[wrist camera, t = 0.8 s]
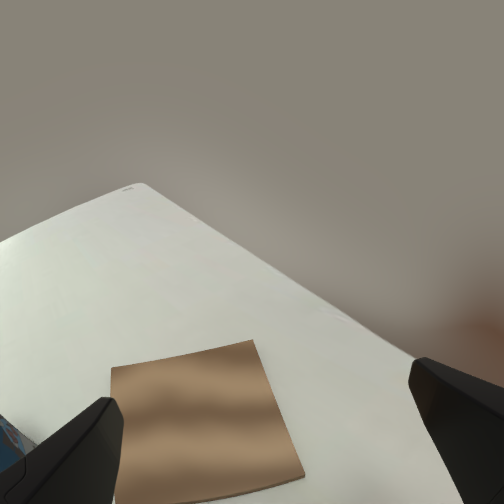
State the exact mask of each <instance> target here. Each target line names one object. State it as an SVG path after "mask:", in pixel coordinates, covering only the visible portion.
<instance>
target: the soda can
mask: <svg viewBox="0 0 504 504" xmlns="http://www.w3.org/2000/svg"><path fill="white" fill-rule="evenodd" d="M35 447H37V445H36V444H35V443H33V442H32V441H31V440H30V439H28V438H27V437H26V436H25V435H23V434H22V433H21V432H20V431H19V430H17V429H16V428H15V427H14V426H13V425H12V424H10V423H9V422H8V421H7V420H6V419H5V418H4V417H3V416H2V415H0V472H2V471H4V470H5V469H7V468H8V467H10V466H11V465H12V464H14V463H15V462H17V461H18V460H19V459H21V458H22V457H23V456H26V454H27V453H29V452H30V451H31V450H33V449H34V448H35Z"/></svg>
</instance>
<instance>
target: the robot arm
mask: <svg viewBox="0 0 504 504" xmlns="http://www.w3.org/2000/svg"><path fill="white" fill-rule="evenodd" d="M408 384H409V388H410V391H411V393H412V395H413V398H414V400H415V403H416V405H417V408H418V410H419V413H420V415H421V418H422V420H423V423H424V425H425V427H426V429H427V431H428V433H429V434H430V436H431V438H432V440H433V442H434V444H435V446H436V448H437V450H438V452H439V454H440V456H441V458H442V459H443V461H444V463H445V465H446V467H447V469H448V471H449V473H450V476H451V478H452V480H453V482H454V484H455V486H456V488H457V490H458V492H459V494H460V496H461V498H462V501H463V503H464V504H504V388H502V387H500V386H497V385H495V384H492V383H490V382H487V381H484V380H482V379H479V378H476V377H474V376H472V375H469V374H466V373H464V372H461V371H459V370H456V369H454V368H451V367H449V366H446V365H444V364H441V363H439V362H436V361H434V360H431V359H429V358H426V357H423V358H419V359H416V360H414V361H413V363H412V366H411V371H410V375H409V380H408ZM123 428H124V418H123V415H122V413H121V411H120V409H119V406H118V404H117V402H116V400H115V399H114V398H112V397H101V398H99V399H98V400H97V401H95V402H94V403H93V404H91V405H90V406H89V407H88V408H86V409H85V410H84V411H82V412H81V413H80V414H79V415H77V416H76V417H75V418H73V419H72V420H71V421H69V422H68V423H67V424H66V425H64V426H63V427H62V428H60V429H59V430H58V431H56V432H55V433H54V434H53V435H51V436H50V437H49V438H47V439H46V440H45V441H43V442H42V443H41V444H39V445H38V446H37V447H35V448H34V449H33V450H31V451H30V452H29V453H27V454H26V456H23V457H22V458H21V459H19V460H18V461H17V462H15V463H14V464H12V465H11V466H10V467H8V468H7V469H5V470H4V471H2V472H0V504H112V501H113V496H114V491H115V485H116V480H117V476H118V471H119V465H120V458H121V447H122V437H123Z"/></svg>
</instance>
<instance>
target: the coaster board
mask: <svg viewBox="0 0 504 504" xmlns="http://www.w3.org/2000/svg"><path fill="white" fill-rule="evenodd" d="M110 397H112V398H114V399H115V400H116V402H117V404H118V406H119V409H120V411H121V413H122V415H123V418H124V428H123V437H122V447H121V458H120V465H119V471H118V476H117V480H116V485H115V491H114V494H115V504H195V503H201V502H208V501H214V500H219V499H225V498H230V497H234V496H239V495H244V494H248V493H252V492H256V491H260V490H264V489H268V488H272V487H275V486H279V485H282V484H285V483H289V482H292V481H295V480H298V479H301V478H304V477H305V472H304V470H303V467H302V465H301V462H300V460H299V457H298V455H297V453H296V450H295V448H294V445H293V443H292V440H291V438H290V435H289V433H288V430H287V428H286V425H285V423H284V420H283V418H282V415H281V412H280V410H279V407H278V405H277V402H276V400H275V397H274V395H273V392H272V389H271V387H270V384H269V382H268V379H267V376H266V374H265V371H264V368H263V366H262V363H261V361H260V358H259V355H258V353H257V350H256V347H255V345H254V342H253V339H252V340H248V341H244V342H240V343H236V344H232V345H227V346H223V347H219V348H214V349H210V350H205V351H200V352H196V353H191V354H186V355H181V356H176V357H171V358H166V359H160V360H155V361H149V362H144V363H138V364H132V365H126V366H119V367H113V368H111V393H110Z"/></svg>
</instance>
